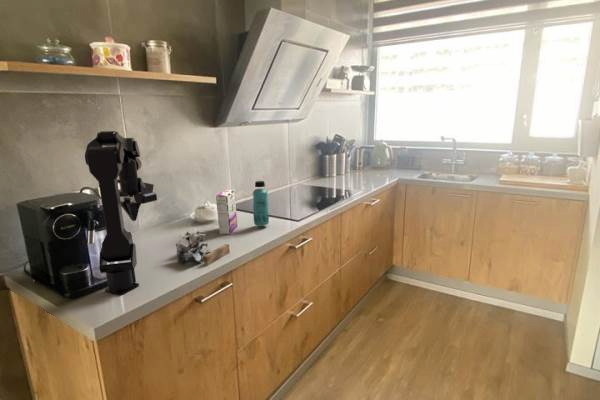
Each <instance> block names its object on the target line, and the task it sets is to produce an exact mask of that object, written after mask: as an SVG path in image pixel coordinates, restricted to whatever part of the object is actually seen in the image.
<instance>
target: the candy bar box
mask: <svg viewBox="0 0 600 400" xmlns="http://www.w3.org/2000/svg"><path fill="white" fill-rule="evenodd" d="M235 191H236V190H235V189H223V190H222V191H221V192H219V193H218V194H217V195H216V196H215V200H216V210H217V211H216V212H217V221H218V233H219V235H231V234H232V233H233V232H234V231H235V230H236V228H237V227H238V218H237V217H238V216H237V205H236V194H235Z"/></svg>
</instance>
